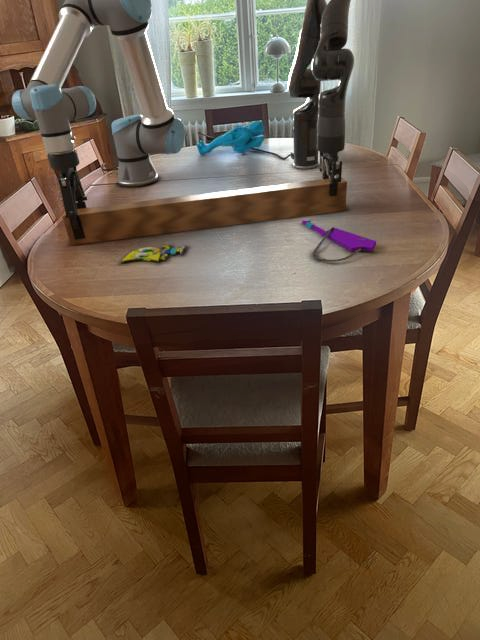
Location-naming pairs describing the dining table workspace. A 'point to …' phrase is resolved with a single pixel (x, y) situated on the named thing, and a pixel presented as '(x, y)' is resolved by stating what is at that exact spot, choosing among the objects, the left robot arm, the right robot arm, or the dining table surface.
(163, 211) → the post
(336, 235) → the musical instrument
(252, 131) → the toy
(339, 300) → the dining table surface
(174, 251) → the toy
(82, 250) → the dining table surface
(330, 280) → the dining table surface
